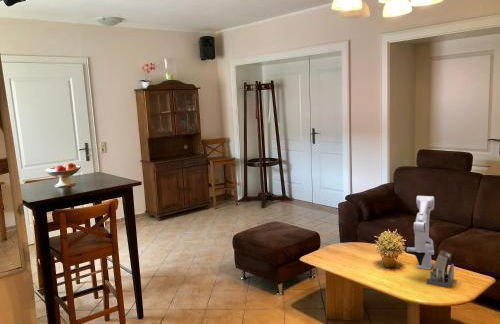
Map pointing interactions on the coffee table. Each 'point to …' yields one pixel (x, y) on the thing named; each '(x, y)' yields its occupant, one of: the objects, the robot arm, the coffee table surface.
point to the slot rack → (447, 276)
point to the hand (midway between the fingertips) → (420, 264)
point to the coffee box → (441, 264)
